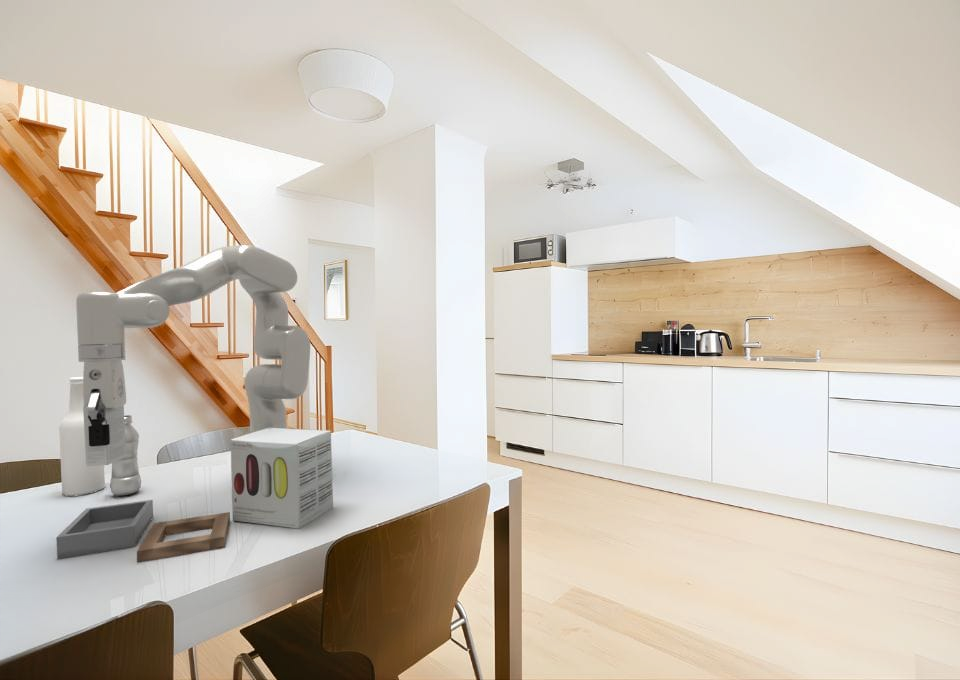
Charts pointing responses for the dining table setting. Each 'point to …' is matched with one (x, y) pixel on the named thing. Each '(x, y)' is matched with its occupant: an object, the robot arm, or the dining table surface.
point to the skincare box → (117, 439)
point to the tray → (105, 529)
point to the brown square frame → (158, 549)
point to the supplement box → (281, 476)
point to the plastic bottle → (127, 464)
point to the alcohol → (77, 448)
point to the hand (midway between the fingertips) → (105, 440)
